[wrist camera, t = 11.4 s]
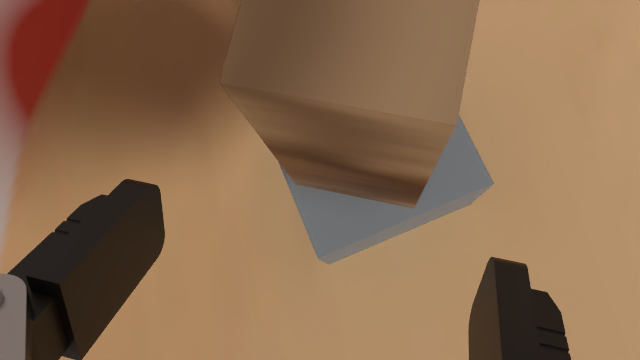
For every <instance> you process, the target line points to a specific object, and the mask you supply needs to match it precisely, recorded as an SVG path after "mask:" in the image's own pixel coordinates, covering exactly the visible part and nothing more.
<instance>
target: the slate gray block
mask: <svg viewBox="0 0 640 360" xmlns="http://www.w3.org/2000/svg"><path fill="white" fill-rule="evenodd" d="M279 164H280V163H279ZM280 166H281V169H282V171H283V174H284V176H285V179H286V181H287V184H288V186H289V188H290V191H291V193H292V196H293V198H294V201H295V203H296V206H297V208H298V211H299V213H300V216H301V218H302V220H303V223H304V225H305V228H306V230H307V233H308V235H309V238H310V240H311V243H312V245H313V247H314V250H315V252H316V255H317V257H318V259H320V260H322V261H324V262H326V263H328V264H331V263H334V262H336V261H338V260H341V259H343V258H345V257H348V256H350V255H353V254H355V253H357V252H360V251H362V250H364V249H367V248H369V247H371V246H374V245H376V244H378V243H381V242H383V241H385V240H388V239H390V238H393V237H395V236H397V235H400V234H402V233H404V232H407V231H409V230H411V229H414V228H416V227H418V226H421V225H423V224H425V223H428V222H430V221H432V220H435V219H437V218H440V217H442V216H444V215H447V214H449V213H451V212H454V211H456V210H458V209H461V208H463V207H465V206H468V205H470V204H471V203H473V202H474V201H475V200H476V199H477V198H478V197H479V196H480V195H482V194H483V193H484V192H485V191H486V190H487V189H488V188H489V187H490V186H492V185H493V184H494V183H493V181H492V179H491V177H490V175H489V173H488V171H487V169H486V167H485V165H484V163H483V161H482V159H481V157H480V155H479V153H478V151H477V149H476V147H475V145H474V144H473V142H472V140H471V138H470V136H469V134H468V132H467V130H466V128H465V126H464V124H463V122H462V120H461V118H460V116H459V114H458V120H457V125H456V127H455V129H454V131H453V133H452V135H451V137H450V139H449V141H448V143H447V145H446V147H445V149H444V151H443V153H442V155H441V156H440V158H439V160H438V162H437V164H436V166H435V168H434V170H433V172H432V174H431V176H430V178H429V180H428V182H427V184H426V186H425V188H424V190H423V192H422V194H421V196H420V198H419V200H418V202H417V204H416V206H415V208H414V209H413V208H409V207H404V206H399V205H394V204H389V203H384V202H379V201H374V200H369V199H364V198H359V197H354V196H349V195H345V194H340V193H335V192H330V191H325V190H320V189H315V188H310V187H305V186H300V185H296V184H295V182H294V181H293V180H292V179H291V177H290V176H289V175H288V173H287V172H286V171H285V169H284V168H283V167H282V165H281V164H280Z"/></svg>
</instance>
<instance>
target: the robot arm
mask: <svg viewBox="0 0 640 360" xmlns="http://www.w3.org/2000/svg"><path fill="white" fill-rule="evenodd" d="M164 239H165V230H164V221H163V212H162V203H161V194H160V189H159V187H158V186H157V185H154V184H150V183H145V182H140V181H135V180H131V179H125V180H124V181H122V182H121V183H120V184H119V185H118V186H117V187H116V188H115V189H114V190H113V191H112V192H111V193H110V194H109V195H108V196H107V195H103V194H102V195H100V196H98V197H96V198H94V199H92V200H90V201H88V202H86V203H84V204H82V205H81V206H79V207H78V208H77V209H76V210H75V211H74V212H73V213H72V214H71V215H70V216H69V217H68V218H67V221H63V222H62V223H61V224H60V225H59V226H58V227H57V228H56V229H55V232H54V233H53V232H52V233H51V234H49V235H48V236H47V237H46V238H45V239H44V240H43V241H42V242H41V243H40V244H39V245H38V246H37V247H36V248H35V249H33V250H32V251H31V252H30V253H29V254H28V255H27V256H26V257H25V258H24V259H23V260H22V261H21V262H20V263H18V264H17V265H16V266H15V267H14V268H13V269H12V270H11V271H10V272H9V273H8V274H0V360H59V359H60V357H61V356H64V357H67V358H71V359H75V360H82V359H83V357H84V356H85V355H86V353H87V352H88V351H89V349H90V348H91V347H92V345H93V344H94V343H95V341H96V340H97V339H98V337H99V336H100V335H101V333H102V332H103V331H104V329H105V328H106V327H107V325H108V324H109V323H110V321H111V320H112V319H113V317H114V316H115V314H116V313H117V312H118V310H119V309H120V308H121V306H122V305H123V304H124V302H125V301H126V300H127V298H128V297H129V296H130V294H131V293H132V292H133V290H134V289H135V288H136V286H137V285H138V284H139V282H140V281H141V280H142V278H143V277H144V276H145V274H146V273H147V271H148V270H149V269H150V267H151V266H152V265H153V263H154V262H155V261H156V259H157V258H158V256H159V255H160V253H161V250H162V248H163V244H164ZM568 351H569V348H568V343H567V338H566V337H565V329H564V324H563V320H562V315H561V312H560V310H559V309H558V307H557V306H556V304H555V303H554V302H553V300H552V299H551V297H550V296H549V294H548V293H547V292H543V291H539V290H534V289H531V287H530V280H529V274H528V268H527V265H526V264H523V263H519V262H514V261H509V260H505V259H500V258H495V257H491V258H490V259H489V261H488V263H487V266H486V269H485V272H484V274H483V277H482V280H481V283H480V285H479V288H478V291H477V294H476V297H475V299H474V302H473V305H472V309H471V314H470V320H469V360H571V357H570V354H568Z"/></svg>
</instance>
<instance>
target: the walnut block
mask: <svg viewBox="0 0 640 360" xmlns="http://www.w3.org/2000/svg"><path fill="white" fill-rule="evenodd" d="M478 5H479V0H242V1H241V5H240V8H239V12H238V16H237V19H236V23H235V26H234V30H233V34H232V37H231V41H230V45H229V48H228V52H227V56H226V59H225V63H224V67H223V70H222V74H221V78H220V81H219V83H220V85H221V86H222V87H223V89H224V90H225V91H226V93H227V94H228V95H229V97H230V98H231V99H232V100H233V102H234V103H235V104H236V106H237V107H238V108H239V110H240V111H241V112H242V114H243V115H244V116H245V118H246V119H247V120H248V122H249V123H250V124H251V126H252V127H253V128H254V130H255V131H256V132H257V134H258V135H259V136H260V138H261V139H262V140H263V141H264V143H265V144H266V145H267V147H268V148H269V149H270V151H271V152H272V153H273V155H274V156H275V157H276V159H277V160H278V161H279V163H280V164H281V165H282V167H283V168H284V169H285V171H286V172H287V173H288V175H289V176H290V177H291V179H292V180H293V181H294V182H295V184H296V185H300V186H305V187H310V188H315V189H320V190H325V191H330V192H335V193H340V194H345V195H349V196H354V197H359V198H364V199H369V200H374V201H379V202H384V203H389V204H394V205H399V206H404V207H409V208H413V209H414V208H415V206H416V204H417V202H418V200H419V198H420V196H421V194H422V192H423V190H424V188H425V186H426V184H427V182H428V180H429V178H430V176H431V174H432V172H433V170H434V168H435V166H436V164H437V162H438V160H439V158H440V156H441V155H442V153H443V151H444V149H445V147H446V145H447V143H448V141H449V139H450V137H451V135H452V133H453V131H454V129H455V127H456V125H457V120H458V114H459V109H460V103H461V98H462V92H463V87H464V81H465V76H466V70H467V65H468V59H469V54H470V48H471V43H472V37H473V32H474V26H475V21H476V15H477V10H478Z"/></svg>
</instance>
